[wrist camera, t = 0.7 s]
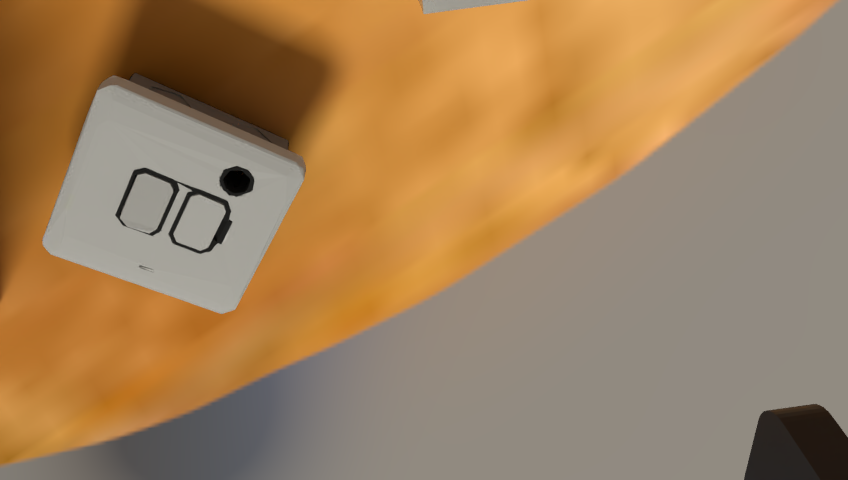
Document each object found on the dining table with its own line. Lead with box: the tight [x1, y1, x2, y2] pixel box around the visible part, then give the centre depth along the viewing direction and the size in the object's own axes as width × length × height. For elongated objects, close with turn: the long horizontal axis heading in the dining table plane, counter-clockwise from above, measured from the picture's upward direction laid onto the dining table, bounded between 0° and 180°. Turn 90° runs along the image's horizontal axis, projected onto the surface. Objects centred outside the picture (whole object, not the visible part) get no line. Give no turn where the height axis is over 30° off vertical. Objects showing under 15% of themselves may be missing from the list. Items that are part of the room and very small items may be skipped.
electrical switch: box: [42, 73, 306, 314], centre depth 37 cm, size 9×5×9 cm
